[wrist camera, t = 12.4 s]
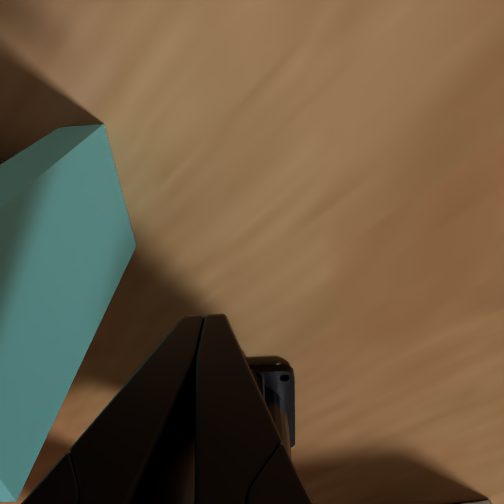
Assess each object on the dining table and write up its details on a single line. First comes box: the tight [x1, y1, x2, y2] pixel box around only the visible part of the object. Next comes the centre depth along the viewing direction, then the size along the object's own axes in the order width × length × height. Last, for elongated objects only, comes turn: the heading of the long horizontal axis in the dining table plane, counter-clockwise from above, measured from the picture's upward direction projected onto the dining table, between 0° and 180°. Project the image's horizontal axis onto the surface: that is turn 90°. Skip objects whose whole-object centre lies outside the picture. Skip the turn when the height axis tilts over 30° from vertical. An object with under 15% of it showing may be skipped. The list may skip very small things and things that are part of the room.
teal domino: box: [0, 124, 136, 502], centre depth 11 cm, size 5×2×10 cm, turn 4°
